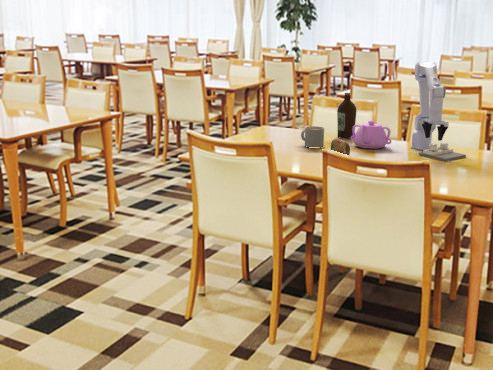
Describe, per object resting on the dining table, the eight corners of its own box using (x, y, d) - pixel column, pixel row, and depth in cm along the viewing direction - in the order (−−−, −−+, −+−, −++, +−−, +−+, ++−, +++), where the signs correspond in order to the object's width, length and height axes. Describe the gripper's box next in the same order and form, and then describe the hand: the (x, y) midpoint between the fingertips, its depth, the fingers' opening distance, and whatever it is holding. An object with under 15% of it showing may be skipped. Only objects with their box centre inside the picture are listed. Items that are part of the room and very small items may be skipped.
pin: (427, 153, 299) (427, 144, 298) (432, 152, 301) (432, 143, 299) (433, 154, 296) (433, 145, 295) (438, 153, 298) (438, 144, 296)
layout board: (418, 155, 300) (419, 144, 299) (439, 151, 308) (440, 141, 307) (445, 161, 288) (446, 150, 286) (466, 157, 296) (467, 146, 294)
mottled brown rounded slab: (330, 154, 304) (330, 137, 302) (335, 153, 305) (336, 137, 303) (345, 160, 290) (345, 143, 288) (350, 160, 292) (351, 143, 289)
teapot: (342, 149, 314) (343, 123, 310) (355, 142, 333) (356, 116, 329) (384, 153, 304) (385, 126, 300) (395, 145, 323) (396, 119, 319)
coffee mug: (327, 147, 320) (328, 128, 318) (313, 149, 315) (313, 130, 312) (310, 143, 331) (311, 124, 328) (296, 145, 326) (296, 126, 323)
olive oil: (347, 134, 353) (349, 91, 346) (359, 137, 344) (361, 93, 337) (332, 136, 348) (334, 92, 341) (344, 139, 339) (345, 94, 332)
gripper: (418, 110, 296) (416, 137, 300) (442, 114, 285) (440, 142, 288) (428, 108, 300) (426, 136, 304) (452, 112, 288) (450, 140, 292)
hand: (433, 139), depth 296 cm, fingers open, 7 cm apart
